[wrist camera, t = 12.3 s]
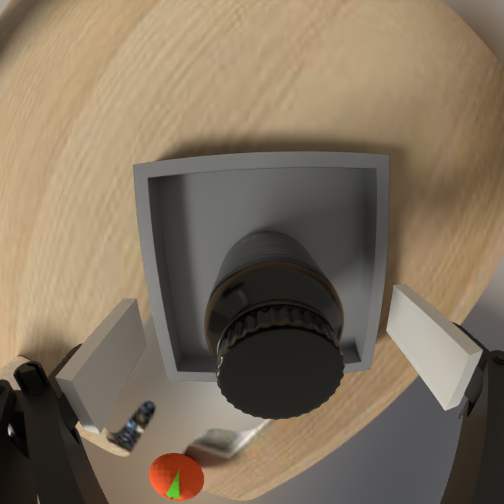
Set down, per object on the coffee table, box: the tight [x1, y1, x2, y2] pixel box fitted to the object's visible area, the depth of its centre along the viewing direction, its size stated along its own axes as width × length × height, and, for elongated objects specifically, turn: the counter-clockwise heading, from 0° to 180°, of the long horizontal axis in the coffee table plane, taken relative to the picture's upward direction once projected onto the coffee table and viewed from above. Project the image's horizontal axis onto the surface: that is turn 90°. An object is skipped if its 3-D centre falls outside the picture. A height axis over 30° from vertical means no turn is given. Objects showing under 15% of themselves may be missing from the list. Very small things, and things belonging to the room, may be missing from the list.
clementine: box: [149, 453, 204, 501], centre depth 25 cm, size 8×7×7 cm
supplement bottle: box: [204, 231, 345, 420], centre depth 15 cm, size 7×7×12 cm
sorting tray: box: [133, 151, 390, 382], centre depth 20 cm, size 17×17×3 cm
